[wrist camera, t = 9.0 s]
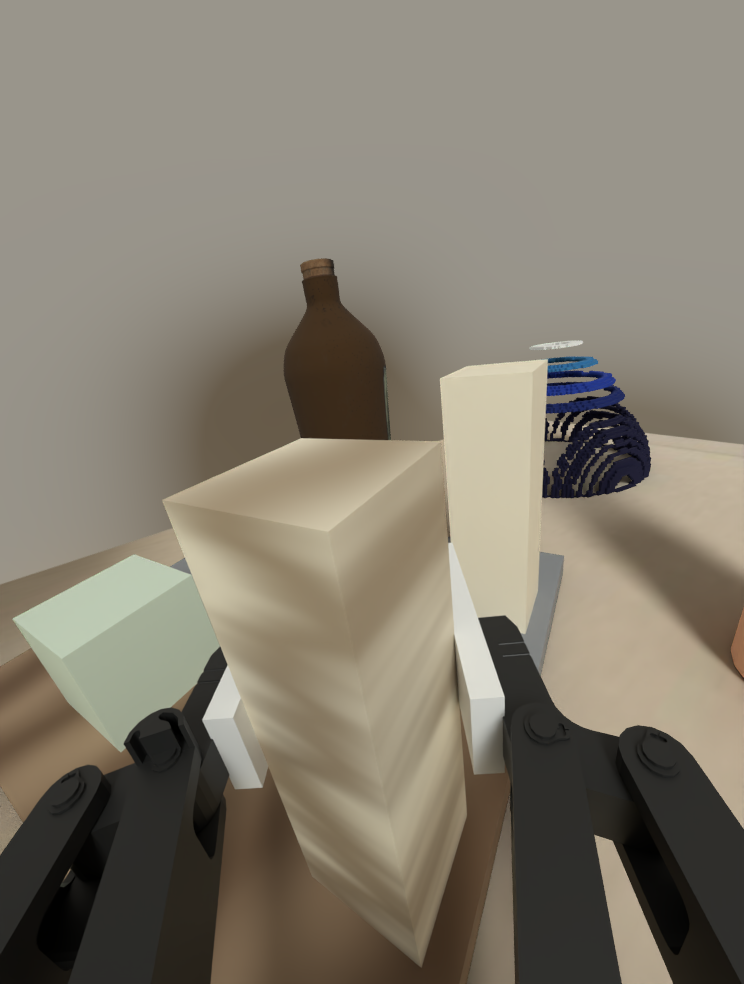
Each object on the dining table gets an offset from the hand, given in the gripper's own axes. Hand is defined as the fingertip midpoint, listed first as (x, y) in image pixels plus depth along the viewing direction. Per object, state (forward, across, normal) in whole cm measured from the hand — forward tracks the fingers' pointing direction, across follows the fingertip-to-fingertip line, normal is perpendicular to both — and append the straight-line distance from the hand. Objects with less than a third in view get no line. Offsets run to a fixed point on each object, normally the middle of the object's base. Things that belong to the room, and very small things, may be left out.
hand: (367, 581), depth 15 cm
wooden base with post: (+1, -10, -9) cm, 14 cm away
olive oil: (+29, -3, -9) cm, 30 cm away
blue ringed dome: (+32, +21, -9) cm, 40 cm away
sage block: (+3, -14, -7) cm, 16 cm away
